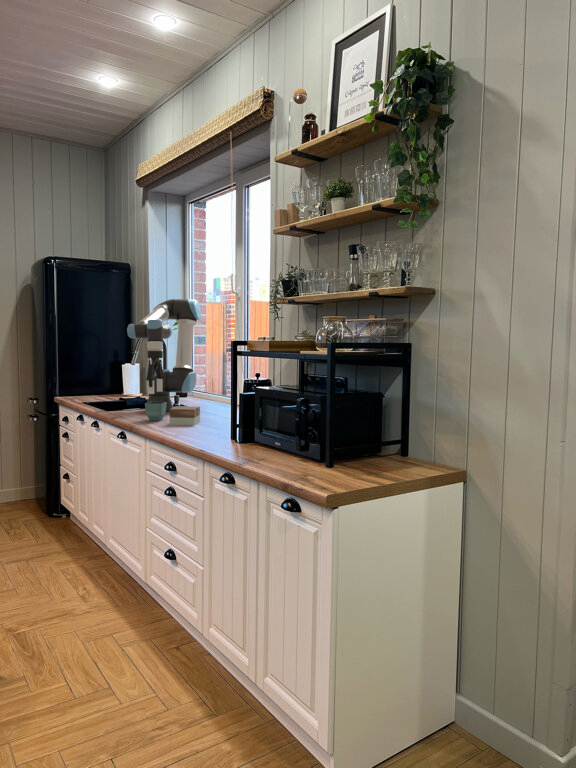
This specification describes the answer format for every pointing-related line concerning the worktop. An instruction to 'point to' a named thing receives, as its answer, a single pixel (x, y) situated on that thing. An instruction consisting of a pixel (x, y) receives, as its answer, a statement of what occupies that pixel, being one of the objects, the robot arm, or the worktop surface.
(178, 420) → the tower base
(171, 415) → the tower top
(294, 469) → the worktop surface
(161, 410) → the flower pot
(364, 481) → the worktop surface
